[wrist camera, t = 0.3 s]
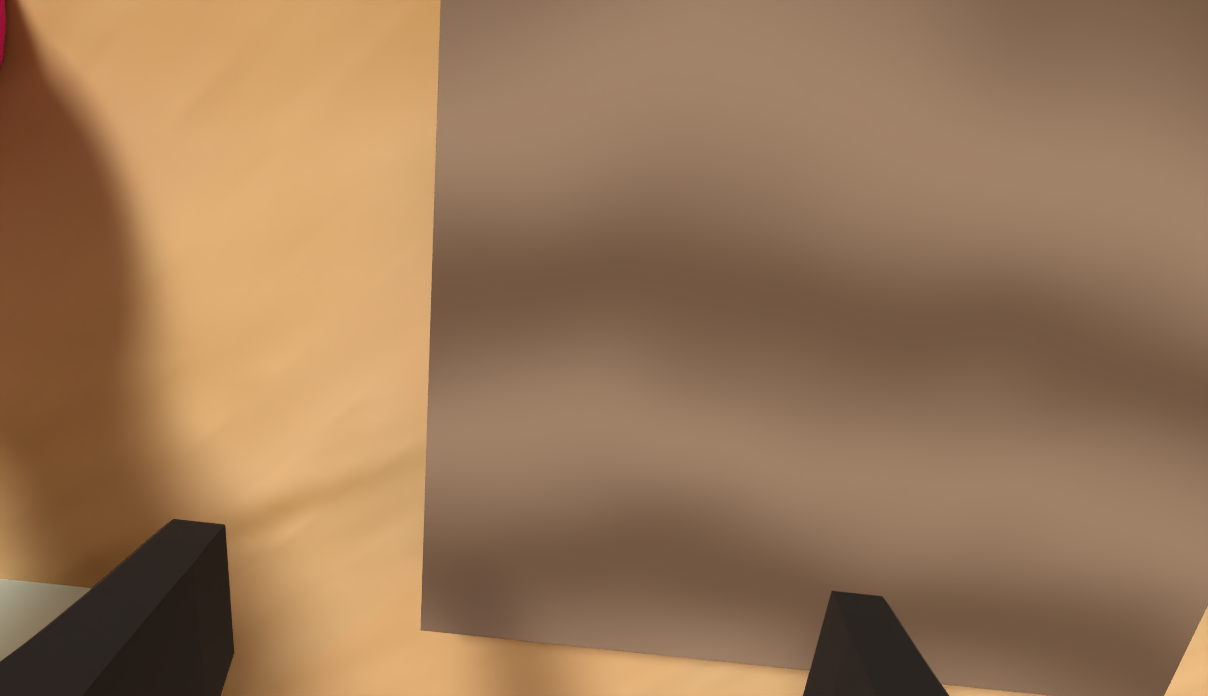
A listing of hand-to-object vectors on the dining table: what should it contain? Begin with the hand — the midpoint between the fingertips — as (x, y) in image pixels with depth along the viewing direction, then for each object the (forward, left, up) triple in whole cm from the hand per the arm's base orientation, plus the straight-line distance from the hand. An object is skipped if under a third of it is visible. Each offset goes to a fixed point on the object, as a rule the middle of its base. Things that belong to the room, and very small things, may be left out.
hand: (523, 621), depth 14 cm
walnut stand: (0, -6, -10) cm, 11 cm away
